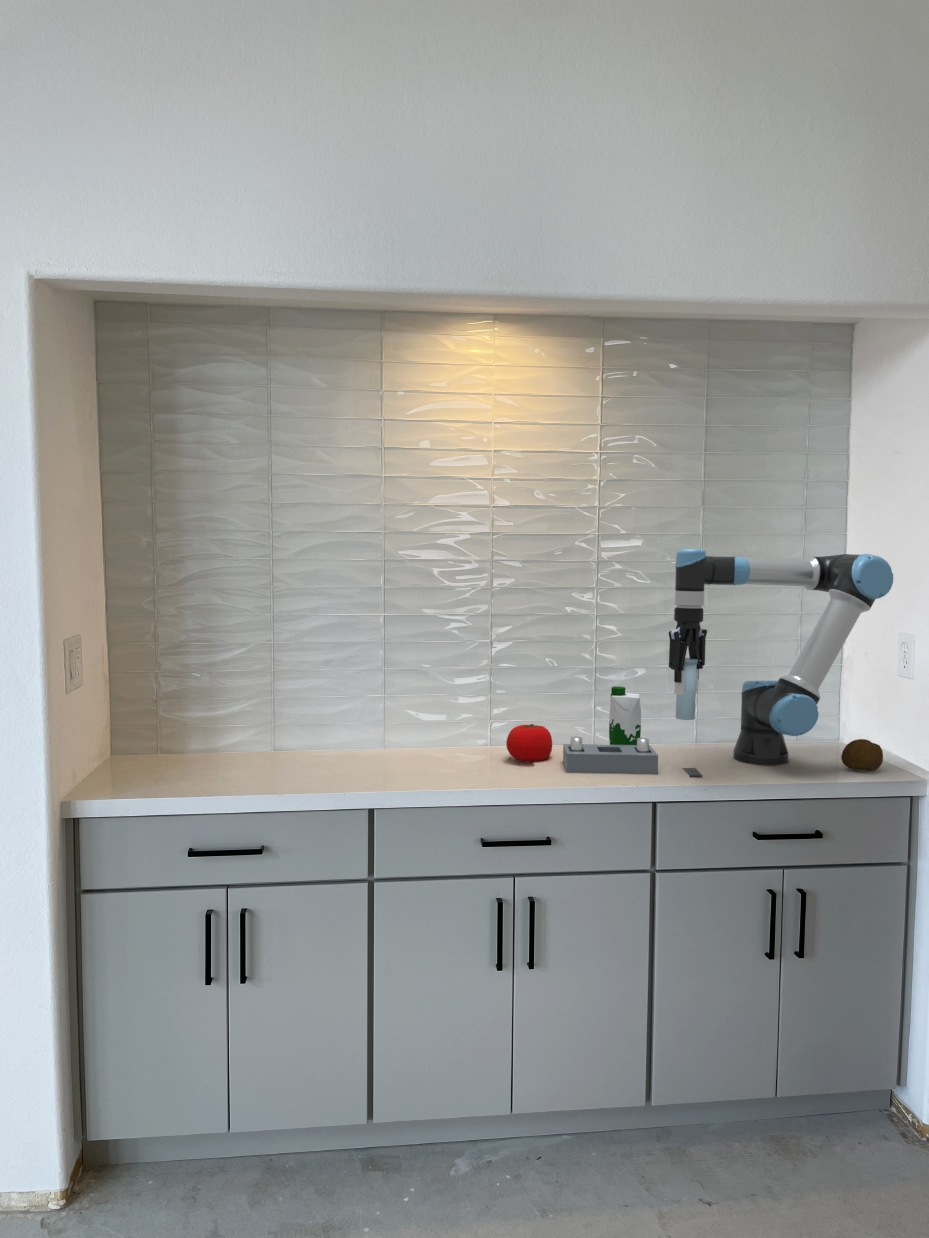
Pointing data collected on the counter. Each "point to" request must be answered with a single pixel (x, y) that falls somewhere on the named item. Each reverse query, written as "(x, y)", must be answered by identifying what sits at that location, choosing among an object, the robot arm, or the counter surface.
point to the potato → (862, 755)
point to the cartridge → (687, 692)
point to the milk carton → (624, 717)
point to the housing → (610, 759)
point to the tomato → (529, 743)
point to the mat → (693, 772)
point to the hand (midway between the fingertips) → (686, 693)
